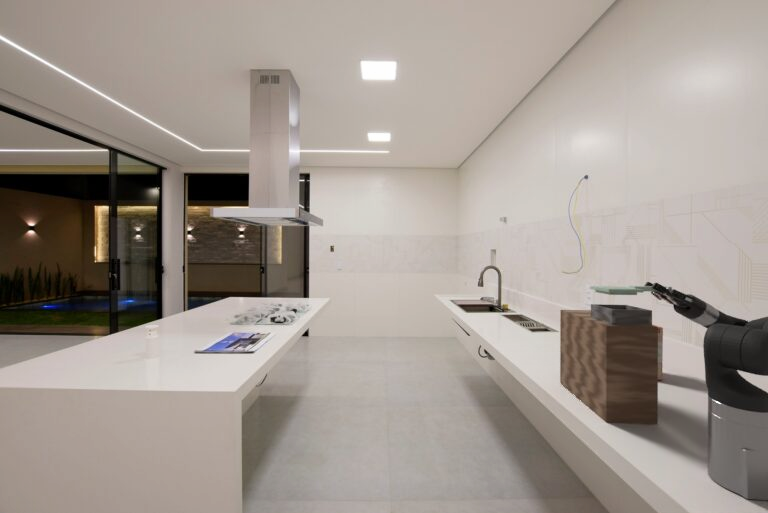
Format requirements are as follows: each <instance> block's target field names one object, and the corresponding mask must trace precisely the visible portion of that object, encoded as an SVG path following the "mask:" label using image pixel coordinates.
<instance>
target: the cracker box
mask: <svg viewBox="0 0 768 513" xmlns="http://www.w3.org/2000/svg"><path fill="white" fill-rule="evenodd" d="M652 325H653V326H657V327H658V381H663V361H664V359H663V351H664V350H663V349H664V348H663V347H664V346H663V344H664V343H663V338H664V337H663V336H664V327H661V326H658V325H656V324H652Z"/></svg>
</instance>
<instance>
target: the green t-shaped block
mask: <svg viewBox="0 0 768 513" xmlns="http://www.w3.org/2000/svg"><path fill="white" fill-rule="evenodd" d="M663 286H664V287H666V288H670V289H671V290H672V289H673V287H672V286H665V285H663ZM589 289H590V290H594V292H595V293H598V294H604V295H610V296H611V295H613V296H614V295H615V296H637V295H638V293H639V294H640V293H644V292H651V291H652V292H658V291H657V290H655V289H653V288H652V286H644V285H629V286H627V287H626V286H612V285H611V286H609V285H608V286H606V285H605V286H602V285H599V286H596V285H595V286H594V285H593V286H591V285H590V286H589Z"/></svg>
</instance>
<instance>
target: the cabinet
mask: <svg viewBox="0 0 768 513" xmlns="http://www.w3.org/2000/svg"><path fill="white" fill-rule="evenodd" d="M653 325H654V324H653V310H651V309H647V308H642V307H637V306H634V305H628V304H600V303H599V304H598V303H597V304H595V303H594V304H590V309H588V310H587V309H560V328H559V330H560V337H559V338H560V341H559V342H560V344H559V345H560V351H559V352H560V353H559V354H560V355H559V356H560V358H559V362H560V367H559V368H560V369H559V370H560V371H559V373H560V376H559V380H560V381H559V382H560V383H561V384H562V385H563V386H564V387H563V386H562V385H561V384H560V383H559V384H560V385H561V386H562V387H563V388H565V389H566V388H567V389H568V390H569V391H570V392H569V391H568V390H567V389H566V390H567V391H568V392H569V393H571V394H572V395H573V394H574V395H575V396H576V397H575V396H574V395H573V396H574V397H575V398H576V399H578V400H579V401H580V400H581V401H582V402H583V405H585V407H587V406H588V407H589V409H590V410H591V411H592V412H593V411H594V412H595V414H596V415H597V416H598V417H599V418H600V419H601V420H603V421H604V422H605V423H610V424H613V423H615V424H618V423H619V424H631V425H632V424H634V425H637V424H638V425H657V426H658V423H659V422H658V421H659V420H658V418H659V416H658V412H659V411H658V410H659V409H658V408H659V407H658V406H659V401H658V400H659V398H658V397H659V395H658V394H659V392H658V390H659V389H658V388H659V387H658V386H659V384H658V383H659V380H658V327H657V326H658V325H656V326H653ZM581 401H580V402H581ZM582 402H581V403H582ZM588 407H587V408H588ZM594 412H593V413H594Z"/></svg>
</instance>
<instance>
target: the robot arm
mask: <svg viewBox="0 0 768 513" xmlns="http://www.w3.org/2000/svg"><path fill="white" fill-rule="evenodd" d="M643 286H652V288H653V289H655V290H657V291H658V292H652V291H650V294H651V295H652V296H654V297H655V298H656V299H657V300H660V301H666V303H667V304H670V305H673V310H674V311H675V312H676V313H678V315H681V316H683V317H685V318H686V319H688V320H689V321H691V322H694V323H695V324H698V325H700V326H702V327H704V328H706V331H705V333H704V337H703V344H702V345H703V347H702V348H703V360H704V372H705V373H704V374H705V375H704V376H705V377H704V378H705V384H706V387H707V475H708V476H709V478H710V479H711V480H713V481H714V482H715V483H716V484H717V485H720V486H722V487H723V488H725V489H727V490H729V491H731V492H734V493H736V494H738V495H740V496H741V497H743V498H745V499H747V500H756V501H758V500H760V501H762V500H763V501H768V392H767V391H766V390H764V389H762V388H760V387H758V386H757V385H755V384H753V383H751V382H749V381H748V380H746V379H745V378H744V377H743V376H742V374H740V373H739V371H740V372H742V373H748V374H751V375H756V376H764V377H766V376H767V377H768V316H764V317H760V318H755V319H751V320H747V321H746V319H743V318H737V317H735V316H732V315H728V314H726V313H724V312H722V311H720V310H719V309H717V308H716V307H715V306H713V305H712V304H710V303H708V302H706V301H704V300H702V299H700V298H699V297H697V296H695V295H693V294H688V293H687V294H686V293H684V292H682V291H679V290H677V289H674V288H672V290H671V289H670V288H666V287H664V286H665V285H662V284H660V283H658V282H654V283H652V282H650V281H646V282H645V284H644V285H643ZM748 321H749V322H748Z"/></svg>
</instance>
